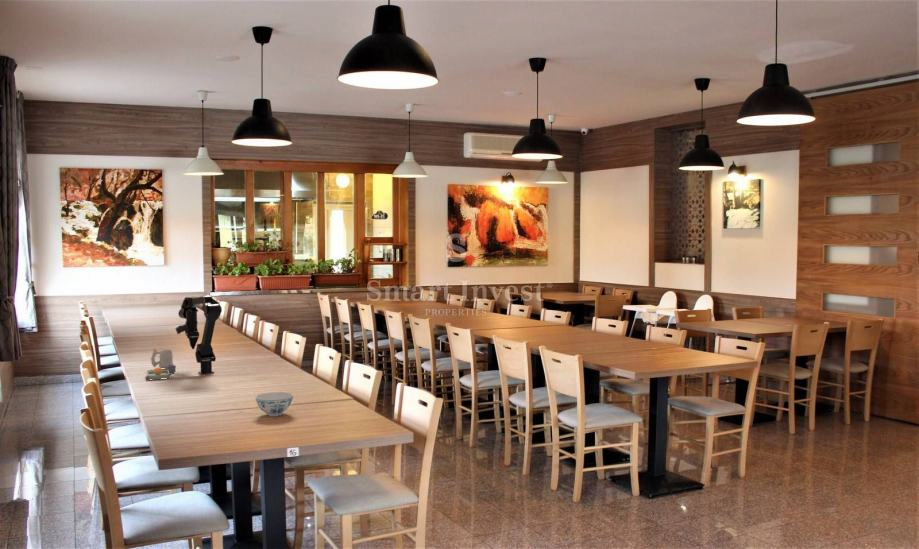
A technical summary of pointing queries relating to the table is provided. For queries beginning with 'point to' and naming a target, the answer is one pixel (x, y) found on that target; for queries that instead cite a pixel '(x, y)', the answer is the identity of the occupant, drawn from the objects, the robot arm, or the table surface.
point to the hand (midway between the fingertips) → (192, 348)
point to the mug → (162, 358)
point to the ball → (158, 371)
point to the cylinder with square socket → (170, 368)
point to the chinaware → (274, 402)
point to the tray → (163, 375)
